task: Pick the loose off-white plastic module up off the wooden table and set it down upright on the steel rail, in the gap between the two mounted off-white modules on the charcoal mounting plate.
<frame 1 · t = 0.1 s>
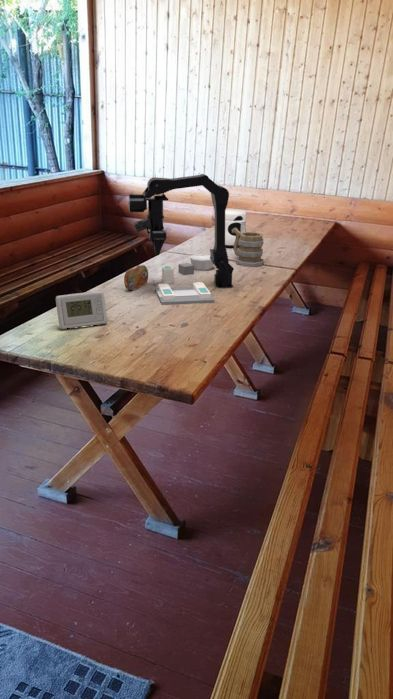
hand: (156, 252, 217), 15 cm above the table, fingers open, 9 cm apart
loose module: (167, 281, 232), on the table
tankard: (244, 262, 265), on the table
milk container: (230, 245, 297), on the table
ramekin: (202, 268, 252), on the table
tin: (136, 287, 223), on the table
rail board: (183, 296, 213), on the table
loose block: (186, 273, 243), on the table
digital clock: (82, 325, 182), on the table
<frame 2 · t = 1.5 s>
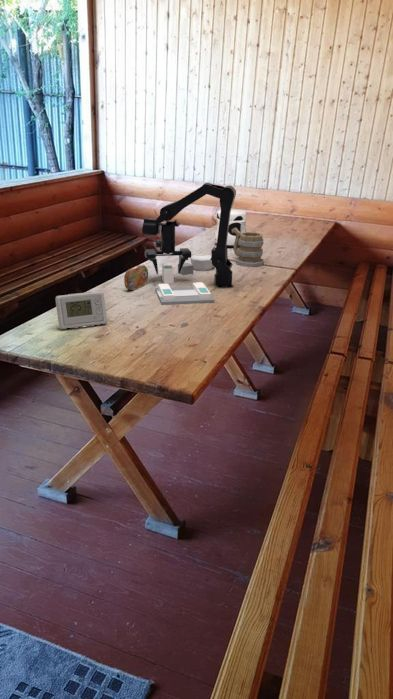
hand: (168, 273, 230), 3 cm above the table, fingers open, 9 cm apart
nothing on the table moved.
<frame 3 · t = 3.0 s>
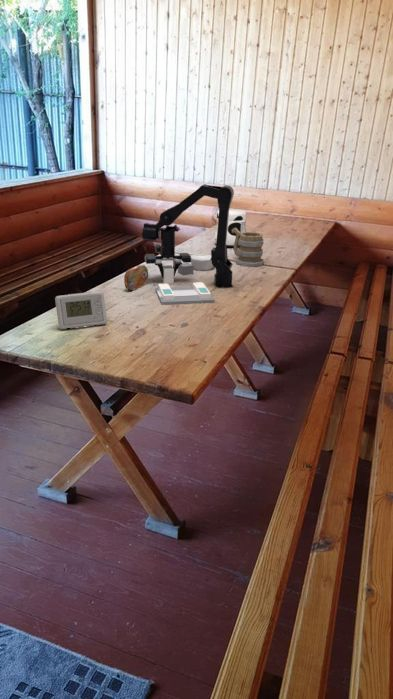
hand: (167, 278, 231), 1 cm above the table, fingers closed on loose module, 4 cm apart
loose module: (167, 281, 232), on the table, touching gripper
everything else where it was.
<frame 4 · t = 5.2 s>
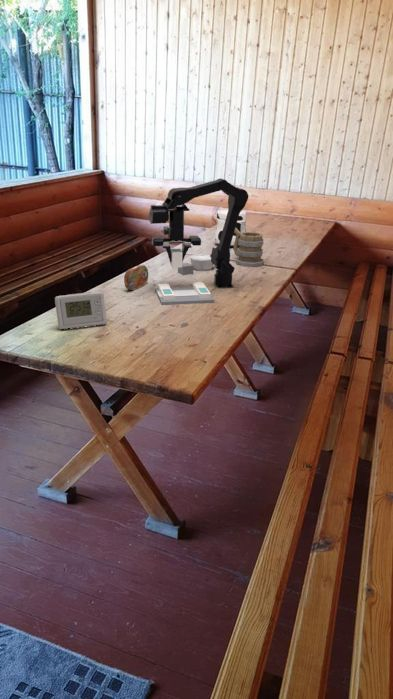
hand: (176, 262, 217), 11 cm above the table, fingers closed on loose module, 4 cm apart
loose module: (176, 265, 218), point 10 cm above the table, touching gripper
everything else where it was.
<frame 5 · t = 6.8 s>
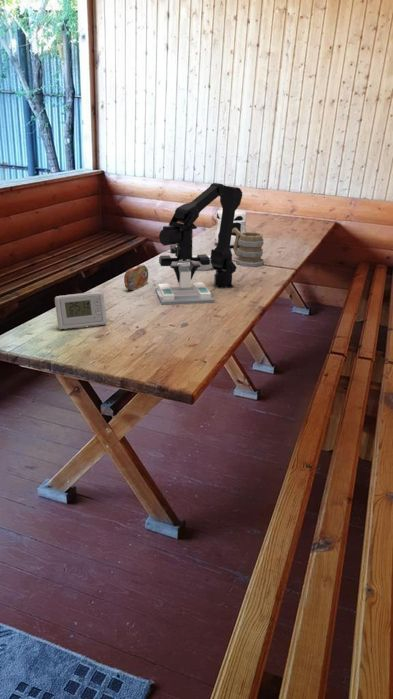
hand: (184, 282, 211), 6 cm above the table, fingers closed on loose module, 4 cm apart
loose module: (184, 285, 212), point 4 cm above the table, touching gripper
everything else where it was.
when the fingers open (4 cm above the table, at t = 7.8 s): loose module drops 2 cm, resting on rail board.
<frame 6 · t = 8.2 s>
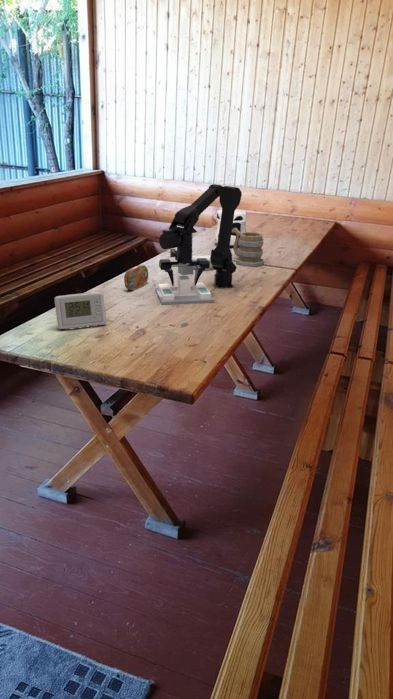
hand: (184, 285, 212), 4 cm above the table, fingers open, 8 cm apart
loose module: (183, 292, 213), point 1 cm above the table, touching rail board
everything else where it was.
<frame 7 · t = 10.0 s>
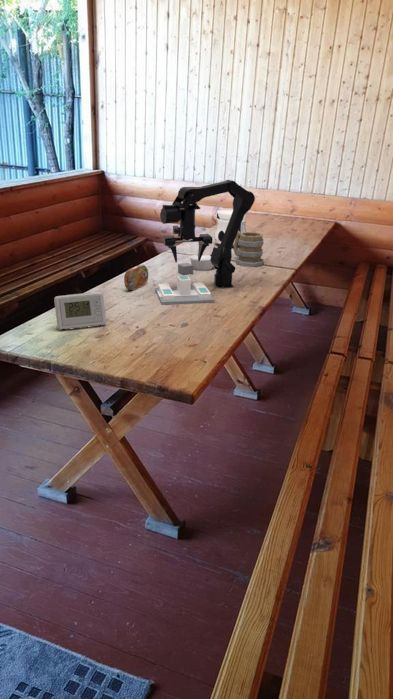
hand: (187, 261, 216), 12 cm above the table, fingers open, 9 cm apart
nothing on the table moved.
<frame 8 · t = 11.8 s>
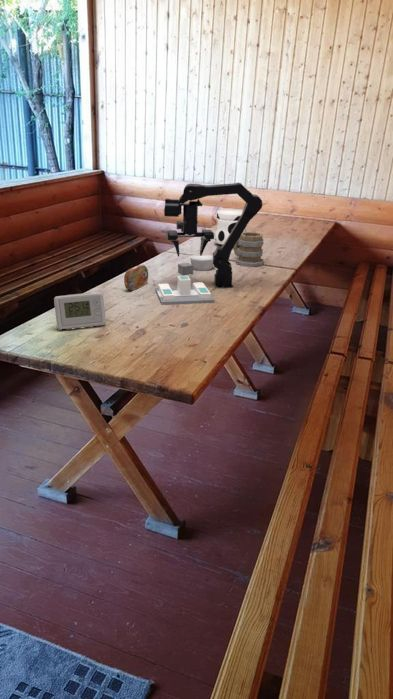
hand: (189, 256, 223), 12 cm above the table, fingers open, 9 cm apart
nothing on the table moved.
at the end: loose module 0.0 cm off-centre on the rail board, point 1.3 cm above the rail board's base; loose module tilted 0°; the gripper is holding nothing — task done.
